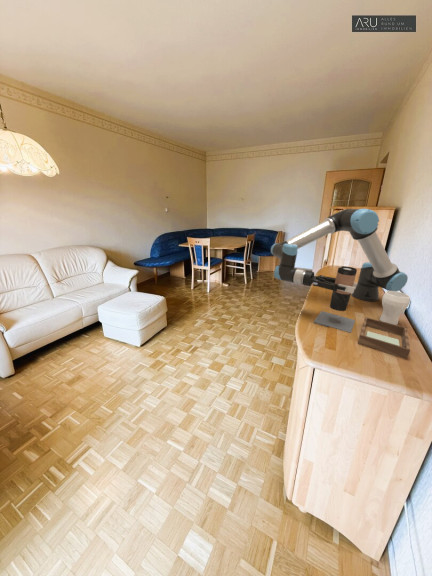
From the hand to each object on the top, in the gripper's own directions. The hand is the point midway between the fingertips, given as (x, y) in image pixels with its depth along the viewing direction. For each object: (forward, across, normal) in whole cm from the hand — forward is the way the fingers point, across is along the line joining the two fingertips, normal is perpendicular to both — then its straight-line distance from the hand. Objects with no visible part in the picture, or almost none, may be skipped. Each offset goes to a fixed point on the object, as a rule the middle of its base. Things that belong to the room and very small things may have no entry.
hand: (355, 288), depth 103 cm
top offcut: (+15, +10, -17) cm, 25 cm away
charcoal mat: (-5, 0, -19) cm, 20 cm away
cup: (+17, -20, -19) cm, 33 cm away
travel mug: (-5, 0, -12) cm, 13 cm away
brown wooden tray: (+15, +5, -19) cm, 25 cm away
